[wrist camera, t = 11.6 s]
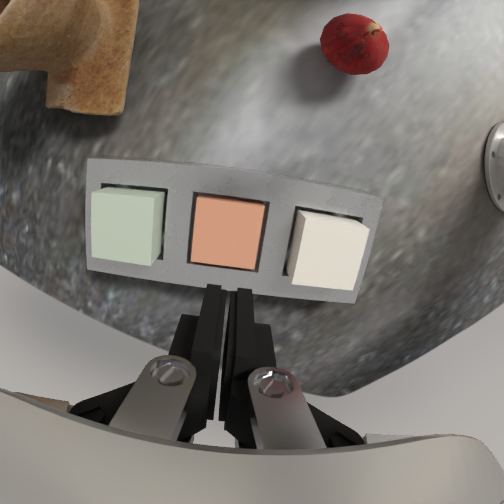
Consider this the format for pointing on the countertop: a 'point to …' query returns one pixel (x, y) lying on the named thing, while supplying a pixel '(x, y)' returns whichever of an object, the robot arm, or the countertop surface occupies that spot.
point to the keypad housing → (238, 185)
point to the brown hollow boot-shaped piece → (72, 49)
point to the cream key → (326, 251)
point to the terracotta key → (227, 230)
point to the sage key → (126, 224)
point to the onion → (354, 44)
